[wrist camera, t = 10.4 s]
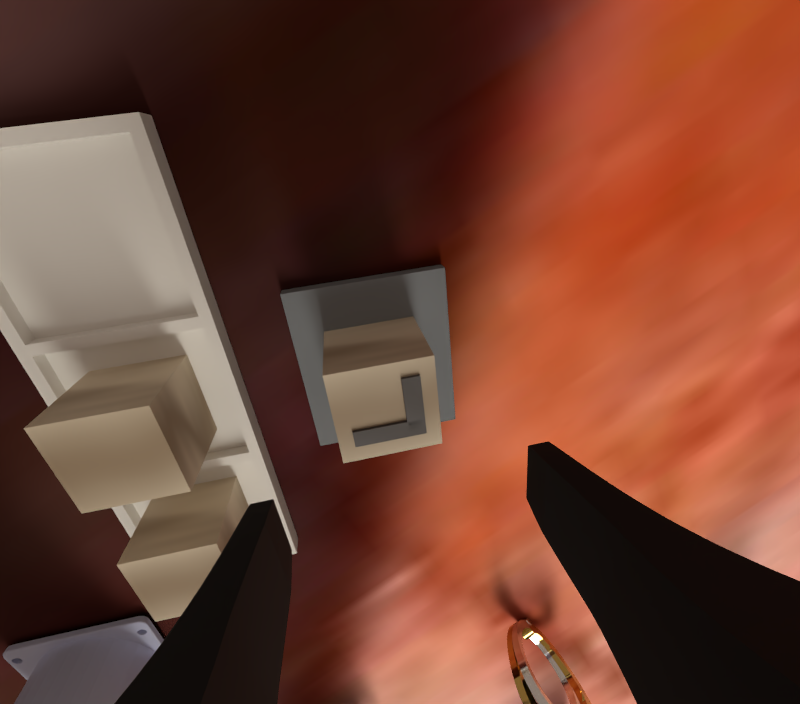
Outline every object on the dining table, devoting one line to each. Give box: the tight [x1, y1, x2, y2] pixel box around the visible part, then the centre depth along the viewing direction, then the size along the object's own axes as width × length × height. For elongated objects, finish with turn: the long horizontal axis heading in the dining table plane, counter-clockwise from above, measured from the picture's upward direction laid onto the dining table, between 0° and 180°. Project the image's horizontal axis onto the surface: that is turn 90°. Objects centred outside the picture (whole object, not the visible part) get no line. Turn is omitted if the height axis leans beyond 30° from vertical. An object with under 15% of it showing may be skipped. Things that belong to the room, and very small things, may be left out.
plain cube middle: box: [24, 355, 217, 513], centre depth 16 cm, size 4×4×4 cm
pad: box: [280, 265, 455, 446], centre depth 19 cm, size 8×7×1 cm
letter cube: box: [322, 316, 442, 463], centre depth 17 cm, size 4×4×4 cm
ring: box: [507, 618, 591, 704], centre depth 27 cm, size 7×3×8 cm, turn 43°
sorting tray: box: [0, 112, 298, 554], centre depth 18 cm, size 22×8×1 cm, turn 7°
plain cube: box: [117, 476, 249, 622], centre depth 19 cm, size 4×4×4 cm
